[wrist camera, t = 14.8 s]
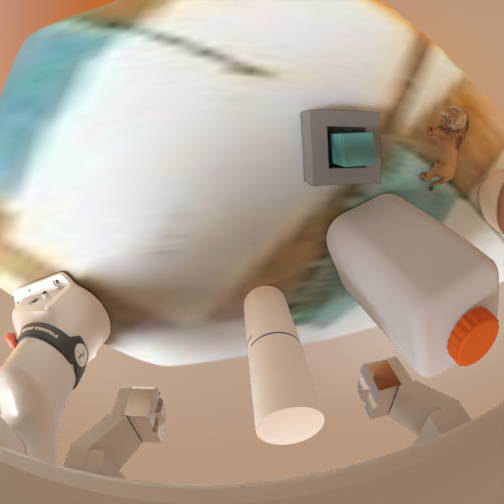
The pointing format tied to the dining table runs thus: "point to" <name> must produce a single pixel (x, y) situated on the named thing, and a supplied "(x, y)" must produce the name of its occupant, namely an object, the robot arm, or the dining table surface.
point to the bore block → (316, 146)
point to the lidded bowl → (493, 199)
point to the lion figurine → (447, 144)
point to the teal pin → (351, 149)
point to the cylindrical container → (279, 371)
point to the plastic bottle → (417, 282)
